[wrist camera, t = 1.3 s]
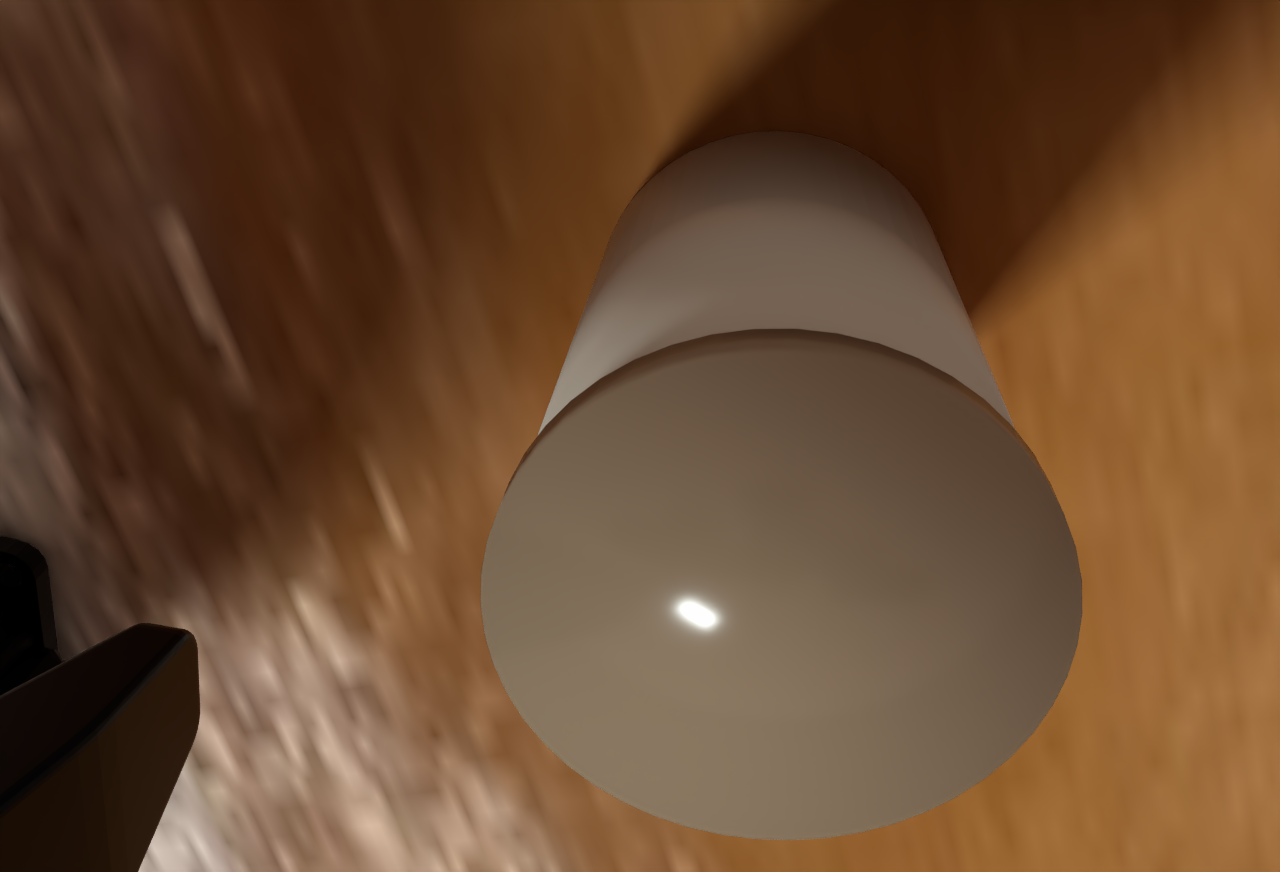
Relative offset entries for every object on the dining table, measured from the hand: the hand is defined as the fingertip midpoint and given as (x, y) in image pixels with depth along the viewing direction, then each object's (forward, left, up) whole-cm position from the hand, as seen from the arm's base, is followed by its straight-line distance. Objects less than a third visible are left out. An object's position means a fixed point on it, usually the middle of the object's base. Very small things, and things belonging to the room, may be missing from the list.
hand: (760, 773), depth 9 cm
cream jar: (0, 0, -10) cm, 10 cm away
